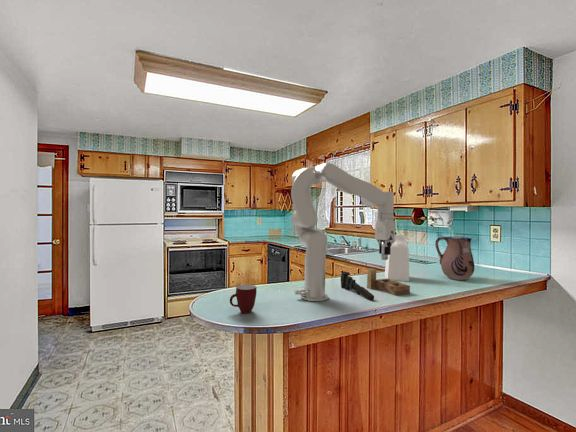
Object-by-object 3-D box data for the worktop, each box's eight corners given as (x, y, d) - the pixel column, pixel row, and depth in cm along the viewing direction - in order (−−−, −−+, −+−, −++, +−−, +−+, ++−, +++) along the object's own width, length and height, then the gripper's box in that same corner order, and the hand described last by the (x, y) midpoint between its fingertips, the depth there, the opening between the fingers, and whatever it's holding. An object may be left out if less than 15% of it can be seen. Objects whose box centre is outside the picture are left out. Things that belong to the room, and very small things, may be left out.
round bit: (384, 260, 155) (384, 239, 155) (379, 258, 158) (380, 238, 158) (389, 259, 156) (389, 239, 156) (385, 258, 159) (385, 238, 159)
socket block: (409, 293, 157) (409, 285, 157) (395, 295, 153) (395, 287, 153) (387, 285, 172) (388, 278, 172) (374, 287, 168) (374, 279, 168)
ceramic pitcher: (477, 283, 181) (479, 239, 180) (436, 280, 187) (438, 237, 186) (470, 276, 197) (471, 236, 196) (432, 274, 204) (434, 235, 203)
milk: (404, 276, 195) (406, 234, 194) (409, 281, 184) (410, 236, 183) (384, 275, 197) (385, 233, 196) (387, 279, 186) (389, 235, 185)
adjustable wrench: (367, 310, 146) (339, 286, 168) (372, 310, 147) (343, 285, 169) (370, 294, 144) (341, 271, 166) (375, 293, 145) (346, 271, 167)
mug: (233, 317, 121) (233, 291, 120) (227, 311, 128) (227, 286, 127) (259, 313, 125) (259, 288, 125) (251, 307, 133) (252, 283, 132)
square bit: (370, 289, 164) (371, 270, 164) (367, 287, 167) (367, 268, 167) (375, 288, 165) (376, 269, 165) (372, 287, 168) (372, 268, 168)
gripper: (368, 216, 163) (368, 252, 163) (390, 217, 147) (389, 257, 148) (381, 216, 165) (380, 251, 166) (403, 217, 150) (402, 256, 151)
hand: (384, 253), depth 157 cm, fingers closed on round bit, 3 cm apart
